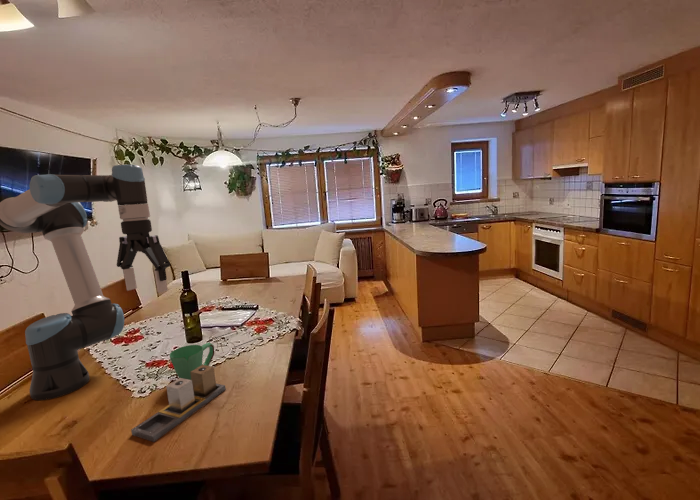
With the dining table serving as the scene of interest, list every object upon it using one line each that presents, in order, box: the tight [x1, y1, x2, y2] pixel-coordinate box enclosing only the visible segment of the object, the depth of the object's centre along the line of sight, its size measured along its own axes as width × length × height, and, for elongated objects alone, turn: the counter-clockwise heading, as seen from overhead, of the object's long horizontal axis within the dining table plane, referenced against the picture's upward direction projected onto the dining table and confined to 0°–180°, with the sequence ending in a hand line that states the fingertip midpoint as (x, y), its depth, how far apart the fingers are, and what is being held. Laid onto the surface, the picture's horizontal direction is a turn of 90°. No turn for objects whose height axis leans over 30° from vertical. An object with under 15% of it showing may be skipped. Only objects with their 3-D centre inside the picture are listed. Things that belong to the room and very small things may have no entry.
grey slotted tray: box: [130, 383, 227, 443], centre depth 97 cm, size 8×24×2 cm, turn 156°
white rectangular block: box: [165, 377, 195, 414], centre depth 97 cm, size 4×4×8 cm
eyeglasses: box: [208, 330, 264, 354], centre depth 141 cm, size 16×15×5 cm
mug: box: [169, 342, 215, 380], centre depth 116 cm, size 15×10×10 cm
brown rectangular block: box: [190, 364, 217, 397], centre depth 104 cm, size 4×4×8 cm
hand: (146, 290), depth 106 cm, fingers open, 13 cm apart
